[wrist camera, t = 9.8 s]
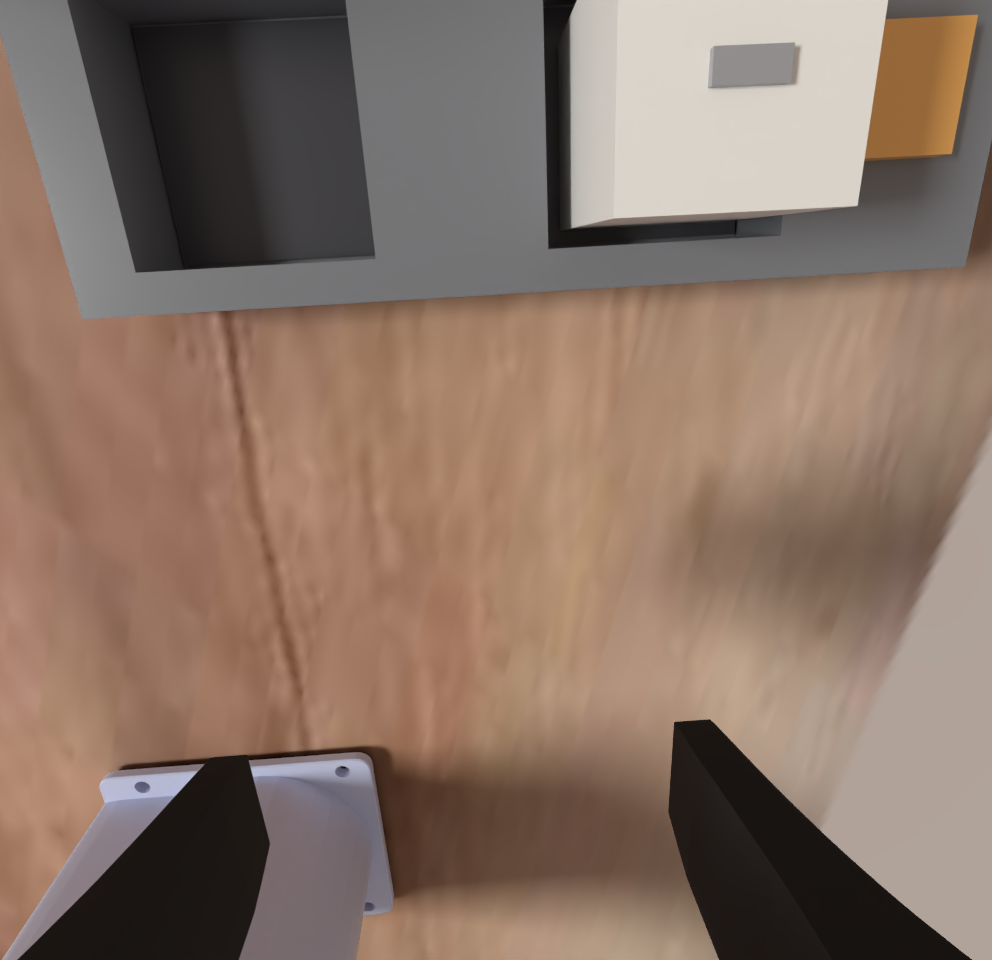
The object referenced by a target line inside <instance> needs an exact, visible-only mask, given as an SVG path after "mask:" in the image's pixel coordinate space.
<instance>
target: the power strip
mask: <svg viewBox="0 0 992 960" xmlns="http://www.w3.org/2000/svg"><path fill="white" fill-rule="evenodd" d="M576 1H577V0H0V35H1V38H2V41H3V45H4V48H5V52H6V55H7V59H8V62H9V66H10V69H11V73H12V76H13V80H14V83H15V87H16V90H17V94H18V97H19V100H20V104H21V107H22V111H23V114H24V118H25V121H26V125H27V128H28V132H29V135H30V139H31V142H32V146H33V149H34V153H35V156H36V159H37V163H38V166H39V170H40V173H41V177H42V180H43V184H44V187H45V191H46V194H47V198H48V201H49V205H50V208H51V212H52V215H53V219H54V222H55V225H56V229H57V232H58V236H59V239H60V243H61V246H62V250H63V253H64V257H65V260H66V264H67V267H68V271H69V274H70V278H71V281H72V284H73V288H74V291H75V295H76V298H77V302H78V305H79V309H80V312H81V316H82V319H95V318H112V317H129V316H146V315H163V314H180V313H196V312H213V311H230V310H247V309H264V308H281V307H298V306H315V305H332V304H348V303H365V302H382V301H399V300H416V299H433V298H450V297H467V296H483V295H500V294H517V293H534V292H551V291H568V290H585V289H602V288H618V287H635V286H652V285H669V284H686V283H703V282H720V281H737V280H754V279H770V278H787V277H804V276H821V275H838V274H855V273H872V272H889V271H905V270H922V269H939V268H956V267H965V266H966V261H967V256H968V251H969V246H970V242H971V237H972V232H973V227H974V223H975V218H976V213H977V208H978V203H979V199H980V194H981V189H982V184H983V180H984V175H985V170H986V165H987V160H988V156H989V151H990V146H991V141H992V0H888V5H887V11H886V18H885V25H884V32H883V38H882V45H881V52H880V58H879V65H878V72H877V78H876V85H875V92H874V99H873V105H872V112H871V119H870V125H869V132H868V139H867V145H866V152H865V159H864V166H863V172H862V179H861V186H860V192H859V199H858V206H853V207H845V208H836V209H828V210H820V211H811V212H803V213H794V214H786V215H777V216H769V217H760V218H752V219H743V220H735V221H727V222H718V223H702V224H682V225H663V226H643V227H624V228H604V229H585V230H565V231H560V190H559V92H558V42H559V40H560V38H561V35H562V33H563V31H564V29H565V26H566V24H567V22H568V20H569V17H570V15H571V13H572V10H573V8H574V6H575V4H576Z"/></svg>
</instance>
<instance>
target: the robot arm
mask: <svg viewBox="0 0 992 960" xmlns="http://www.w3.org/2000/svg"><path fill="white" fill-rule="evenodd" d="M340 766H346V767H347V768H346V769H345V768H341V767H340ZM144 782H146V783H144ZM100 791H101V793H102V796H103V799H104V801H105V804H104V805H103V807H102V808H101V810H100V811H99V813H98V814H97V816H96V817H95V819H94V820H93V822H92V823H91V825H90V826H89V828H88V829H87V831H86V832H85V834H84V836H83V837H82V839H81V840H80V842H79V843H78V845H77V846H76V848H75V849H74V851H73V852H72V854H71V855H70V857H69V858H68V860H67V861H66V863H65V864H64V866H63V867H62V869H61V871H60V872H59V874H58V875H57V877H56V878H55V880H54V881H53V883H52V884H51V886H50V887H49V889H48V890H47V892H46V893H45V895H44V896H43V898H42V899H41V901H40V903H39V904H38V906H37V907H36V909H35V910H34V912H33V913H32V915H31V916H30V918H29V919H28V921H27V922H26V924H25V925H24V927H23V928H22V930H21V931H20V933H19V935H18V936H17V938H16V939H15V941H14V942H13V944H12V945H11V947H10V948H9V950H8V951H7V953H6V954H5V956H4V957H3V959H2V960H356V959H357V952H358V946H359V939H360V933H361V926H362V920H363V915H372V914H383V913H387V912H388V911H390V910H391V909H392V908H393V904H394V891H393V885H392V879H391V873H390V866H389V860H388V854H387V848H386V842H385V836H384V830H383V824H382V818H381V812H380V806H379V799H378V793H377V787H376V781H375V775H374V769H373V763H372V760H371V758H370V757H369V756H368V755H367V754H364V753H362V752H352V753H339V754H326V755H313V756H300V757H287V758H274V759H261V760H248V756H247V755H240V756H227V757H214V758H210V759H209V760H208V761H207V762H206V763H205V764H196V765H183V766H170V767H157V768H144V769H131V770H118V771H112V772H109V773H108V774H106V776H105V777H104V779H103V780H102V781H101V783H100ZM668 812H669V815H670V819H671V823H672V826H673V830H674V834H675V837H676V841H677V845H678V848H679V852H680V855H681V859H682V862H683V865H684V869H685V872H686V876H687V879H688V881H689V884H690V887H691V889H692V892H693V894H694V897H695V899H696V902H697V905H698V907H699V910H700V912H701V915H702V917H703V920H704V922H705V925H706V928H707V930H708V933H709V935H710V938H711V940H712V943H713V945H714V948H715V950H716V953H717V955H718V958H719V960H972V959H970V958H969V957H968V956H966V955H965V954H964V953H962V952H961V951H960V950H959V949H958V948H956V947H955V946H954V945H952V944H951V943H950V942H949V941H947V940H946V939H945V938H944V937H942V936H941V935H940V934H939V933H937V932H936V931H935V930H934V929H932V928H931V927H930V926H928V925H927V924H926V923H925V922H924V921H922V920H921V919H920V918H918V917H917V916H916V915H915V914H914V913H912V912H911V911H910V910H909V909H908V908H907V907H905V906H904V905H903V904H902V903H900V902H899V901H898V900H897V899H896V898H895V897H894V896H892V895H891V894H890V893H889V892H888V891H887V890H885V889H884V888H883V887H882V886H881V885H879V884H878V883H877V882H876V881H875V880H874V879H873V878H872V877H871V876H869V875H868V874H867V873H866V872H865V871H864V870H863V869H862V868H860V867H859V866H858V865H857V864H856V863H855V862H853V860H851V859H850V858H849V857H848V856H847V855H846V854H845V853H844V852H843V851H841V850H840V849H839V848H838V847H837V846H836V845H835V844H834V843H833V842H832V841H831V840H830V839H828V838H827V837H826V836H825V835H824V834H823V833H822V832H821V831H820V830H819V829H818V828H817V827H816V826H815V825H814V824H813V823H812V822H811V821H810V820H809V819H808V818H807V817H806V816H805V815H804V814H802V813H801V812H800V811H799V810H798V809H797V808H796V807H795V806H794V805H793V804H792V803H791V802H790V801H789V800H788V799H787V798H786V797H785V796H784V795H783V794H782V793H781V792H780V791H779V790H778V789H777V788H776V787H775V786H774V785H773V784H772V783H771V782H770V781H769V780H768V779H767V778H766V777H765V776H764V775H763V774H762V773H761V772H760V771H759V770H758V769H757V768H756V767H755V766H754V764H753V763H752V762H751V761H750V760H749V759H748V758H747V757H746V756H745V755H744V754H743V753H742V752H741V751H740V750H739V749H738V748H737V747H736V746H735V745H734V743H733V742H732V741H731V740H730V739H729V738H728V737H727V736H726V735H725V734H724V733H723V732H722V731H721V730H720V729H719V728H718V727H717V726H716V725H715V724H714V723H713V722H712V721H711V720H710V719H709V720H696V721H683V722H674V733H673V749H672V765H671V780H670V796H669V811H668Z"/></svg>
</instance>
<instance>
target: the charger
mask: <svg viewBox="0 0 992 960" xmlns="http://www.w3.org/2000/svg"><path fill="white" fill-rule="evenodd" d="M887 5H888V0H577V1H576V4H575V6H574V8H573V10H572V13H571V15H570V17H569V20H568V22H567V24H566V26H565V29H564V31H563V33H562V35H561V38H560V40H559V42H558V92H559V190H560V231H565V230H585V229H604V228H624V227H643V226H663V225H682V224H702V223H718V222H727V221H735V220H743V219H752V218H760V217H769V216H777V215H786V214H794V213H803V212H811V211H820V210H828V209H836V208H845V207H853V206H858V199H859V192H860V186H861V179H862V172H863V166H864V159H865V152H866V145H867V139H868V132H869V125H870V119H871V112H872V105H873V99H874V92H875V85H876V78H877V72H878V65H879V58H880V52H881V45H882V38H883V32H884V25H885V18H886V11H887Z"/></svg>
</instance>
